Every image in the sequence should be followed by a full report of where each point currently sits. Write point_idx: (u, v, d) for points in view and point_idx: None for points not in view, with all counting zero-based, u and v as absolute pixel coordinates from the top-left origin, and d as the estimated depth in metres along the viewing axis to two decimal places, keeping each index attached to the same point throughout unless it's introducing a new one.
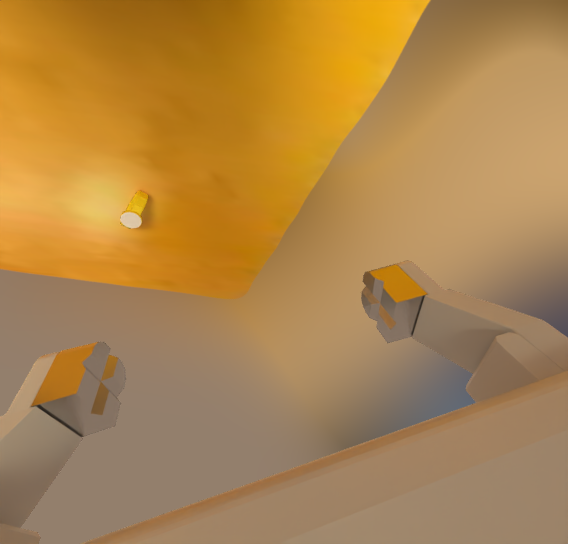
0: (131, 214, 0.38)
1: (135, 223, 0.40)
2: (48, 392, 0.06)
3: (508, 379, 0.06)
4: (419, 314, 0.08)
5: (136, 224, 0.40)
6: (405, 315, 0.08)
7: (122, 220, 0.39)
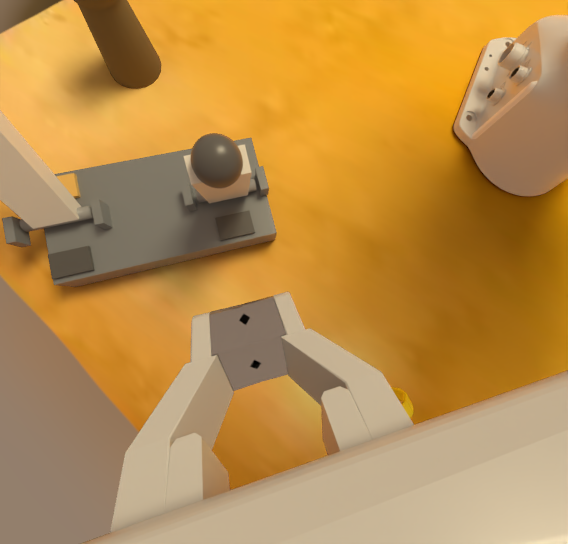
0: None
1: None
2: (221, 344, 0.07)
3: (331, 441, 0.05)
4: (285, 353, 0.07)
5: None
6: (268, 355, 0.07)
7: None
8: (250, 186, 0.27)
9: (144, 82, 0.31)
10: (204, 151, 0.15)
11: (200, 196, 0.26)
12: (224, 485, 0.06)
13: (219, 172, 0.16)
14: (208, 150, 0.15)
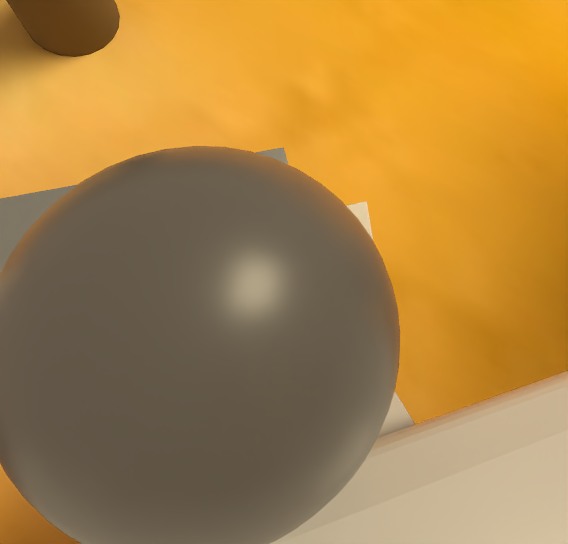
0: None
1: None
2: None
3: None
4: None
5: None
6: None
7: None
8: None
9: (86, 44, 0.17)
10: (53, 407, 0.01)
11: None
12: None
13: None
14: (107, 399, 0.01)
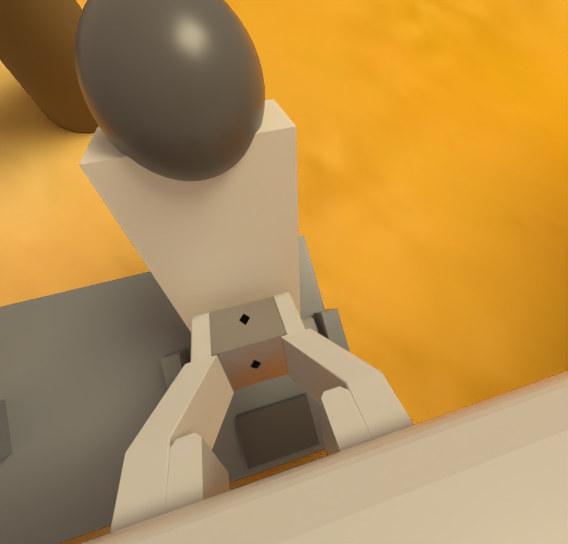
0: None
1: None
2: (221, 344, 0.07)
3: (331, 441, 0.05)
4: (284, 353, 0.07)
5: None
6: (268, 355, 0.07)
7: None
8: None
9: None
10: None
11: None
12: (224, 485, 0.06)
13: (148, 1, 0.04)
14: None
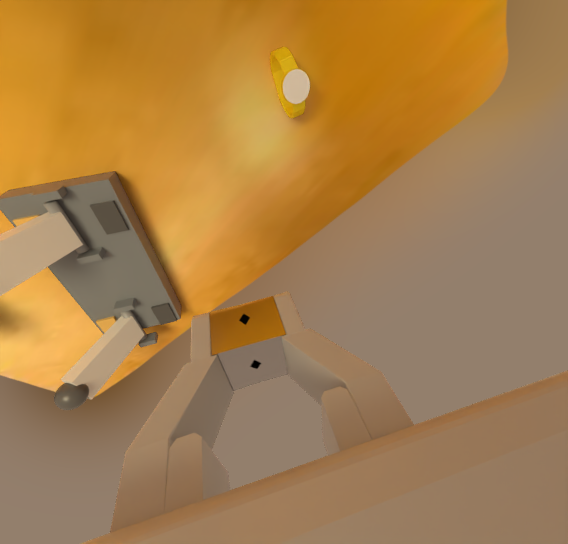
0: (289, 78, 0.25)
1: (304, 86, 0.25)
2: (221, 344, 0.07)
3: (331, 441, 0.05)
4: (284, 353, 0.07)
5: (305, 86, 0.25)
6: (268, 355, 0.07)
7: (289, 98, 0.26)
8: (49, 209, 0.27)
9: None
10: None
11: (77, 250, 0.30)
12: (224, 485, 0.06)
13: None
14: None
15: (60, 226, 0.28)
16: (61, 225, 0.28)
